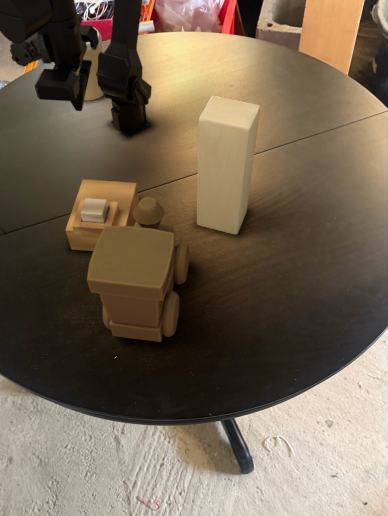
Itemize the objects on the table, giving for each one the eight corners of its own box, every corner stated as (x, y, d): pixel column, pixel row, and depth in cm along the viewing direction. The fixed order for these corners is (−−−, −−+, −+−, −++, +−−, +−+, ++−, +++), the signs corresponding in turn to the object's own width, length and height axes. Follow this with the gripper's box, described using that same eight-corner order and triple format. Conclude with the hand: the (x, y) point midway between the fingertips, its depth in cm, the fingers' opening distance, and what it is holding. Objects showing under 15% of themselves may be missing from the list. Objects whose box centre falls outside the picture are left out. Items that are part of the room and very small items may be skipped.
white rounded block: (87, 207, 81) (85, 198, 79) (108, 208, 81) (106, 199, 79) (83, 222, 79) (80, 213, 77) (104, 223, 79) (102, 214, 77)
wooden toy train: (173, 356, 72) (168, 288, 58) (101, 347, 73) (78, 278, 59) (193, 258, 83) (192, 180, 69) (129, 251, 84) (115, 173, 70)
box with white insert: (87, 199, 91) (80, 170, 85) (139, 202, 90) (135, 174, 85) (70, 252, 84) (61, 225, 78) (126, 256, 83) (121, 229, 78)
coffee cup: (88, 75, 114) (77, 20, 103) (117, 88, 111) (109, 32, 100) (60, 93, 110) (46, 37, 99) (90, 107, 107) (79, 51, 96)
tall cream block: (249, 208, 89) (262, 101, 71) (238, 235, 86) (249, 129, 68) (208, 199, 91) (212, 92, 73) (196, 225, 87) (196, 119, 69)
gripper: (24, -17, 78) (49, 79, 91) (-14, 41, 68) (20, 139, 81) (90, -14, 77) (106, 82, 91) (62, 45, 68) (84, 143, 81)
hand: (79, 109), depth 86 cm, fingers closed
